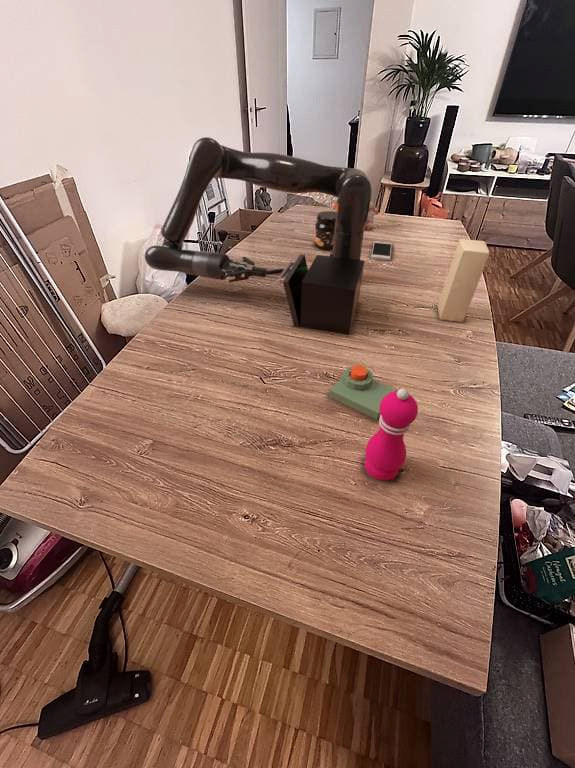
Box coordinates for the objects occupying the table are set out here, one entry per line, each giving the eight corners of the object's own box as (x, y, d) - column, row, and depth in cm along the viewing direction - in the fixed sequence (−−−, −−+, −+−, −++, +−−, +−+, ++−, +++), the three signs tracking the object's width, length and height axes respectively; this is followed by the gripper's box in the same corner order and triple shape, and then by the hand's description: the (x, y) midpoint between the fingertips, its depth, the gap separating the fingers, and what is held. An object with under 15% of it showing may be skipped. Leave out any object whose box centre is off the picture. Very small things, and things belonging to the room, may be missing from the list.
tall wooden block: (465, 323, 109) (493, 252, 95) (439, 320, 110) (462, 250, 96) (462, 309, 115) (487, 240, 101) (437, 306, 116) (458, 238, 102)
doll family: (376, 228, 165) (382, 196, 156) (371, 236, 159) (376, 203, 150) (331, 221, 172) (334, 190, 163) (324, 228, 165) (326, 196, 156)
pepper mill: (358, 452, 74) (375, 376, 60) (394, 450, 74) (418, 373, 61) (367, 484, 68) (387, 408, 55) (405, 481, 69) (435, 405, 56)
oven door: (284, 327, 108) (272, 282, 100) (300, 297, 121) (290, 256, 113) (299, 326, 106) (288, 281, 98) (313, 296, 119) (304, 254, 111)
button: (347, 377, 85) (348, 371, 84) (355, 369, 87) (355, 363, 86) (361, 383, 84) (362, 377, 82) (368, 375, 86) (370, 369, 85)
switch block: (329, 397, 85) (330, 384, 83) (349, 374, 91) (351, 361, 89) (376, 420, 80) (380, 407, 78) (395, 394, 86) (399, 382, 84)
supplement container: (309, 243, 152) (311, 212, 144) (332, 239, 156) (335, 209, 148) (321, 253, 145) (323, 221, 137) (345, 248, 148) (348, 217, 140)
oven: (300, 327, 107) (301, 281, 97) (314, 297, 120) (316, 254, 110) (348, 335, 104) (355, 289, 94) (358, 303, 117) (364, 260, 107)
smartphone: (370, 258, 142) (371, 256, 141) (373, 243, 153) (374, 240, 152) (389, 260, 140) (390, 258, 140) (391, 245, 151) (392, 242, 151)
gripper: (199, 262, 105) (258, 270, 101) (218, 244, 114) (272, 251, 111) (203, 286, 110) (259, 295, 106) (221, 267, 119) (273, 275, 116)
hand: (265, 273), depth 109 cm, fingers closed
